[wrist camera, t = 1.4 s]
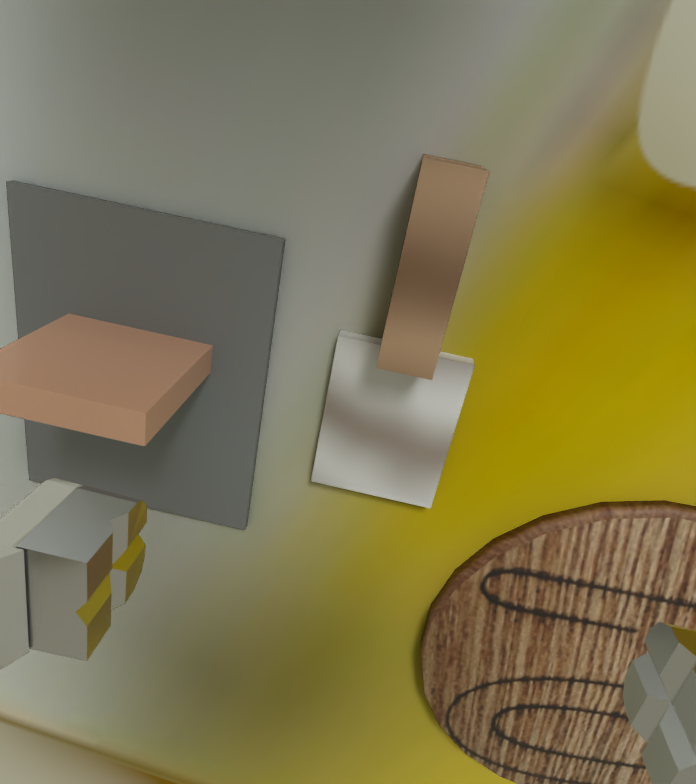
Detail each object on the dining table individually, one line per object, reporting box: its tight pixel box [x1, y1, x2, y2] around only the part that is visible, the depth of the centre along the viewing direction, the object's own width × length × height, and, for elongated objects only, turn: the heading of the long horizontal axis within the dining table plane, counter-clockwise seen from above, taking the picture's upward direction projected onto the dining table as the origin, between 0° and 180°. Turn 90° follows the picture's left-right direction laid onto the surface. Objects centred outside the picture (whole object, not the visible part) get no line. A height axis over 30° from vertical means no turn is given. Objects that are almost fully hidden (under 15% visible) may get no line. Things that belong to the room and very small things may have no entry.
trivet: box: [421, 501, 696, 784], centre depth 36 cm, size 25×25×2 cm
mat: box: [6, 181, 285, 530], centre depth 32 cm, size 18×14×1 cm
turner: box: [311, 154, 489, 508], centre depth 28 cm, size 18×7×4 cm, turn 169°
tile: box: [0, 314, 213, 446], centre depth 27 cm, size 2×8×8 cm, turn 79°
